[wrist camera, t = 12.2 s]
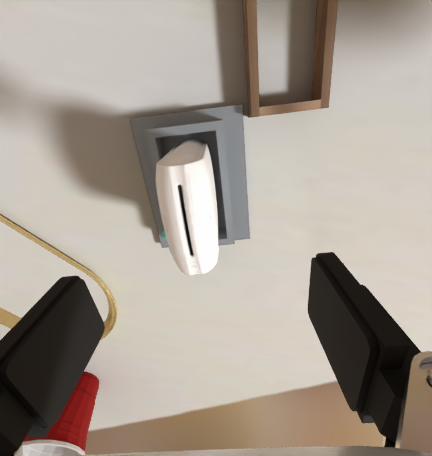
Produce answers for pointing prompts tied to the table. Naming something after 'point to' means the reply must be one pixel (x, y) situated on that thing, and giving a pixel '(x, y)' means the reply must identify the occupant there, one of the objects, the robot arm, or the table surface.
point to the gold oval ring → (11, 320)
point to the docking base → (220, 156)
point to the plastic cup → (68, 424)
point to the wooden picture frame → (321, 67)
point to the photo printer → (189, 206)
